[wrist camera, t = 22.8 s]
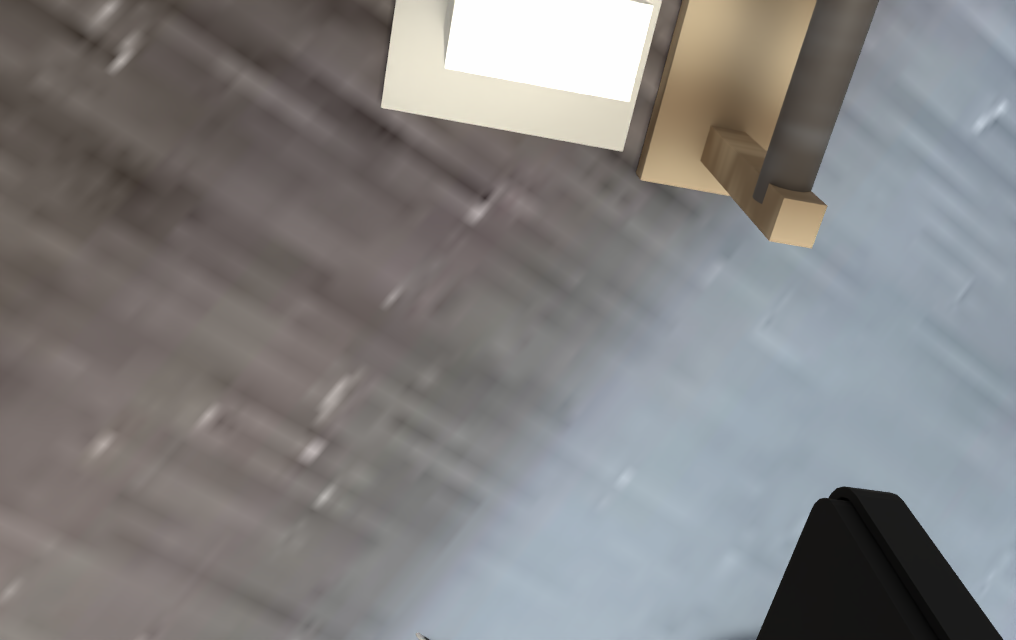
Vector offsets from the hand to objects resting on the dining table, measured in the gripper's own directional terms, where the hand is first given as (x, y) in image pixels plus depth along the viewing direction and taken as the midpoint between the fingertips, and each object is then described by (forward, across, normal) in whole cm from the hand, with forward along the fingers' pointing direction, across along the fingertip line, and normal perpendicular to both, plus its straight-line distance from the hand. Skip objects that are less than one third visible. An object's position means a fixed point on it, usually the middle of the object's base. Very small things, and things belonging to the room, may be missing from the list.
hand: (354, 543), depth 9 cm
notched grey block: (+30, -4, -2) cm, 30 cm away
